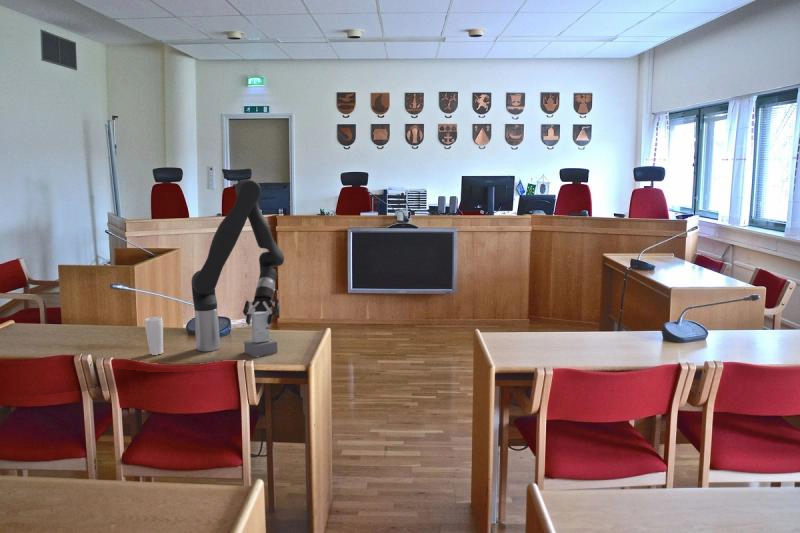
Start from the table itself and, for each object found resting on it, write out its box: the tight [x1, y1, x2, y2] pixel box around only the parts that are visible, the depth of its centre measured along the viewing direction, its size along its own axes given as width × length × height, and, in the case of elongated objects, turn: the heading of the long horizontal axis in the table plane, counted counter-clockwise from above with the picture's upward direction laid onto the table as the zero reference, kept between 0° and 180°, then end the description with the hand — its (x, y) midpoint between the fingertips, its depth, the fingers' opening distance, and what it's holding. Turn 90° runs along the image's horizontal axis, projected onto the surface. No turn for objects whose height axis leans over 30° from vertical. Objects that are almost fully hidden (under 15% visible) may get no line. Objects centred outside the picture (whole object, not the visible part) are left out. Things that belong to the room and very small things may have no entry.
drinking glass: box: [144, 316, 164, 356], centre depth 268 cm, size 7×7×15 cm
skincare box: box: [251, 311, 270, 343], centre depth 266 cm, size 6×4×12 cm
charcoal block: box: [243, 337, 279, 358], centre depth 268 cm, size 10×10×5 cm
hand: (258, 323), depth 265 cm, fingers open, 8 cm apart
